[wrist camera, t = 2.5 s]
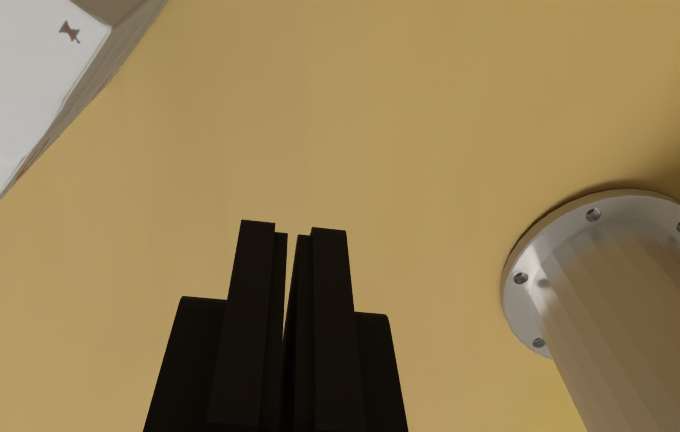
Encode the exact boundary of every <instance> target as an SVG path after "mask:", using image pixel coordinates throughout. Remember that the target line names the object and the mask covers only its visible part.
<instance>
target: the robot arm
mask: <svg viewBox="0 0 680 432" xmlns="http://www.w3.org/2000/svg"><path fill="white" fill-rule="evenodd" d="M287 238H288V233H279V232H275V223H270V222H260V221H251V220H241V225H240V231H239V236H238V242H237V248H236V253H235V259H234V264H233V270H232V276H231V281H230V287H229V293H228V298H227V300H221V299H210V298H199V297H188V296H182V298H181V300H180V302H179V305H178V309H177V312H176V316H175V319H174V323H173V327H172V330H171V334H170V337H169V341H168V344H167V348H166V351H165V355H164V358H163V362H162V365H161V369H160V373H159V376H158V380H157V383H156V387H155V390H154V394H153V397H152V401H151V404H150V408H149V412H148V415H147V419H146V422H145V426H144V429H143V432H408V426H407V420H406V415H405V409H404V403H403V398H402V392H401V386H400V381H399V375H398V369H397V363H396V358H395V352H394V346H393V341H392V335H391V329H390V324H389V320H388V317H387V316H386V315H385V314H375V313H364V312H354V304H353V294H352V284H351V275H350V265H349V255H348V246H347V236H346V231H345V230H335V229H326V228H316V227H312V229H311V233H310V236H308V235H299V234H298V237H297V243H296V250H295V257H294V264H293V272H292V279H291V286H290V293H289V300H288V307H287V314H286V321H285V328H284V335H283V319H284V299H285V279H286V259H287ZM500 303H501V306H502V309H503V312H504V315H505V318H506V320H507V322H508V324H509V326H510V328H511V331H512V332H513V333H514V334H515V336H516V337H517V338H518V339H519V340H520V342H521V343H523V344H524V345H525V346H526V347H528V348H529V349H530V350H532V351H534V352H536V353H538V354H540V355H542V356H544V357H546V358H550V359H553V360H554V363H555V365H556V367H557V369H558V371H559V373H560V375H561V377H562V379H563V381H564V383H565V385H566V388H567V390H568V392H569V394H570V396H571V398H572V400H573V402H574V404H575V406H576V408H577V410H578V413H579V415H580V417H581V419H582V421H583V423H584V425H585V427H586V429H587V431H588V432H680V203H679V202H678V201H676V200H674V199H673V198H671V197H669V196H666V195H663V194H660V193H657V192H654V191H649V190H641V189H613V190H607V191H603V192H598V193H593V194H589V195H587V196H584V197H581V198H579V199H576V200H573V201H571V202H569V203H567V204H565V205H563V206H561V207H560V208H558V209H556V210H554V211H552V212H551V213H549V214H548V215H547V216H545V217H544V218H543V219H542V220H540V221H539V222H538V223H536V224H535V225H534V226H533V227H532V228H531V229H530V230H529V231H528V232H527V233H526V234H525V235H524V236H523V237H522V238H521V240H520V241H519V242H518V244H517V245H516V247H515V248H514V250H513V251H512V253H511V254H510V256H509V258H508V260H507V263H506V265H505V268H504V270H503V273H502V278H501V284H500ZM282 339H283V342H282Z"/></svg>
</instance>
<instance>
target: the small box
mask: <svg viewBox="0 0 680 432" xmlns="http://www.w3.org/2000/svg"><path fill="white" fill-rule="evenodd" d="M167 1H168V0H0V200H1V198H2V197H3V196H4V195H5V194H6V193H7V192H8V191H9V190H10V189H11V188H12V187H13V185H14V184H15V183H16V182H17V181H18V180H19V179H20V178H21V177H22V176H23V175H24V174H25V172H26V171H27V170H28V169H29V168H30V167H31V166H32V165H33V164H34V163H35V162H36V161H37V160H38V159H39V158H40V156H41V155H42V154H43V153H44V152H45V151H46V150H47V149H48V148H49V147H50V146H51V145H52V144H53V143H54V142H55V140H56V139H57V138H58V137H59V136H60V135H61V134H62V133H63V132H64V131H65V129H66V128H67V127H68V126H69V125H70V124H71V123H72V122H73V121H74V120H75V118H76V117H77V116H78V115H79V114H80V113H81V112H82V111H83V110H84V109H85V108H86V107H87V106H88V105H89V104H90V102H91V101H92V100H93V99H94V98H95V97H96V96H97V95H98V94H99V93H100V92H101V91H102V90H103V89H104V88H105V87H106V85H107V84H108V83H109V82H110V80H111V79H112V78H113V76H114V75H115V74H116V72H117V71H118V69H119V68H120V67H121V65H122V64H123V62H124V61H125V60H126V58H127V57H128V56H129V54H130V53H131V51H132V50H133V49H134V47H135V46H136V44H137V43H138V42H139V40H140V39H141V37H142V36H143V35H144V33H145V32H146V30H147V29H148V27H149V26H150V25H151V23H152V22H153V20H154V19H155V18H156V16H157V15H158V13H159V12H160V11H161V9H162V8H163V6H164V5H165V4H166V2H167Z"/></svg>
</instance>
